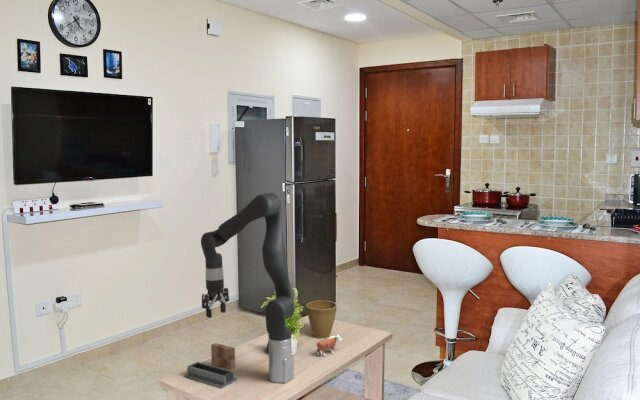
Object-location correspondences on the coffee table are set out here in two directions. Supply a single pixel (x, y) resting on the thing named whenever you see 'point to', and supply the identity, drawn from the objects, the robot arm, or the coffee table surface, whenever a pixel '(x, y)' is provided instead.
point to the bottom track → (210, 374)
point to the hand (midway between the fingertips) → (216, 314)
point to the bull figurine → (328, 344)
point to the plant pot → (321, 317)
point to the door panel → (223, 356)
